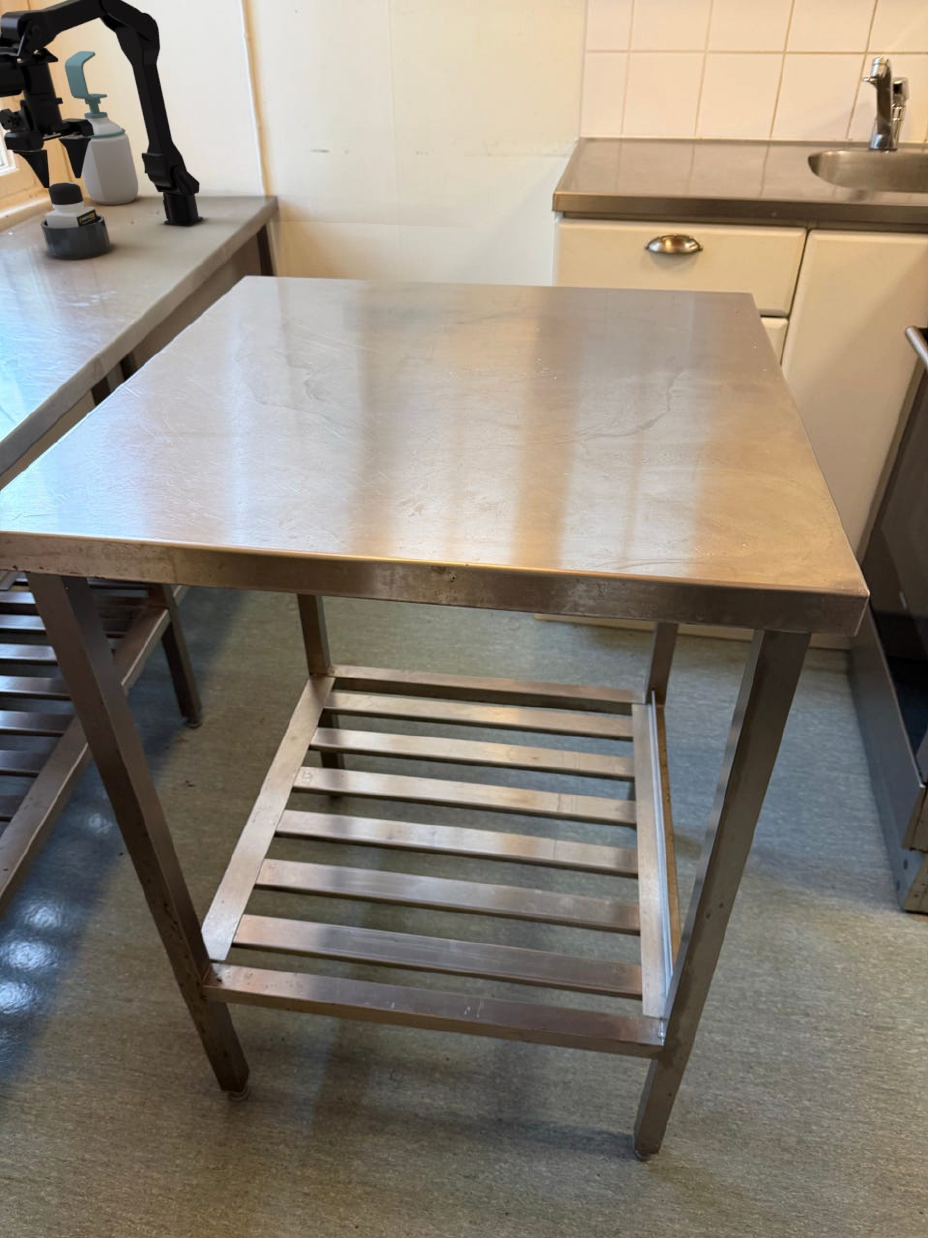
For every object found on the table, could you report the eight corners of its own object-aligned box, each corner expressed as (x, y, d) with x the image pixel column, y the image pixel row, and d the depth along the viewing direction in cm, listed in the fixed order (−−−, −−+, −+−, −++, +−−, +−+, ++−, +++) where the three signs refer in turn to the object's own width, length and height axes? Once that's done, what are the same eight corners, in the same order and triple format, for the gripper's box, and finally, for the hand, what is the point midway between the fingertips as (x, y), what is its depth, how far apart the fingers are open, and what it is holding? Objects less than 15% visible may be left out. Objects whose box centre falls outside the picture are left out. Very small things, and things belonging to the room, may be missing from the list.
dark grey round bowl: (123, 245, 188) (116, 215, 184) (85, 261, 179) (77, 230, 175) (76, 241, 191) (68, 211, 188) (36, 256, 182) (27, 225, 179)
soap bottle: (152, 197, 223) (121, 50, 204) (116, 208, 214) (80, 55, 195) (115, 193, 227) (81, 48, 208) (78, 203, 219) (40, 53, 200)
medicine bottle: (86, 252, 181) (69, 188, 174) (54, 250, 183) (36, 187, 175) (104, 243, 187) (88, 180, 180) (73, 241, 188) (56, 179, 181)
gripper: (39, 84, 177) (61, 171, 186) (-32, 97, 163) (-4, 190, 173) (85, 86, 174) (105, 174, 183) (17, 99, 160) (42, 194, 169)
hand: (62, 182), depth 177 cm, fingers open, 9 cm apart
